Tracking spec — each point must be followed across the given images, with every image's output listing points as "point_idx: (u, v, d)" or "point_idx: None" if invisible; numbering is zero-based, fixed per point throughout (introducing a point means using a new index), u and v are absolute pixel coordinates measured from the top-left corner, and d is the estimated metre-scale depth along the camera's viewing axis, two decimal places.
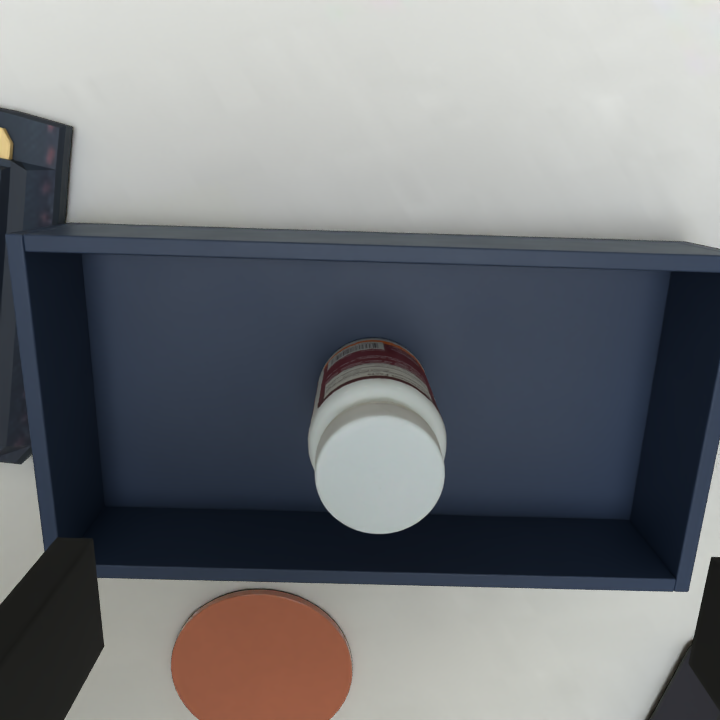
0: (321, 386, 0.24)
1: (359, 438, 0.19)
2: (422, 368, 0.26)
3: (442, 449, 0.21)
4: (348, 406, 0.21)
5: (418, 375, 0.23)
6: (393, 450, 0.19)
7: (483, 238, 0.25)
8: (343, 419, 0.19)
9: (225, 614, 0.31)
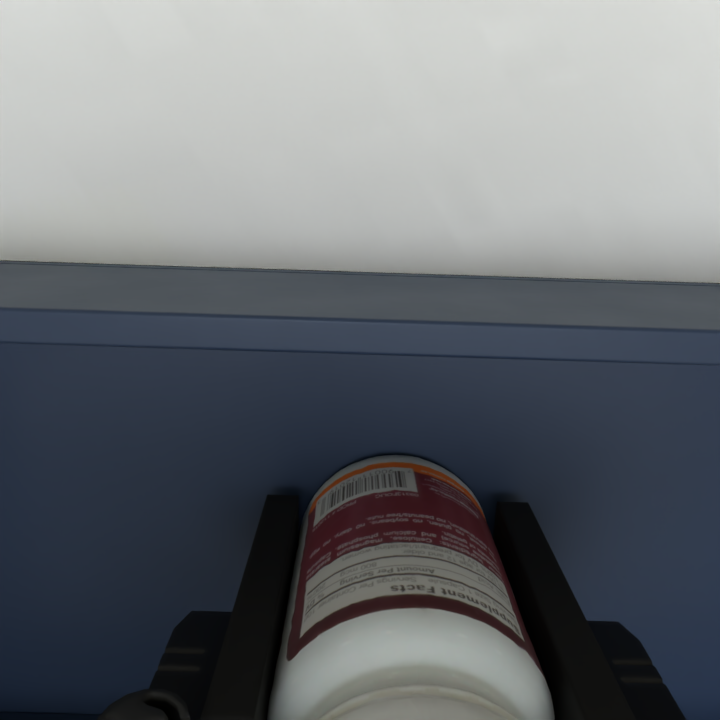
0: (300, 571, 0.13)
1: None
2: (480, 509, 0.15)
3: None
4: (350, 679, 0.09)
5: (485, 556, 0.12)
6: None
7: (601, 289, 0.13)
8: None
9: None
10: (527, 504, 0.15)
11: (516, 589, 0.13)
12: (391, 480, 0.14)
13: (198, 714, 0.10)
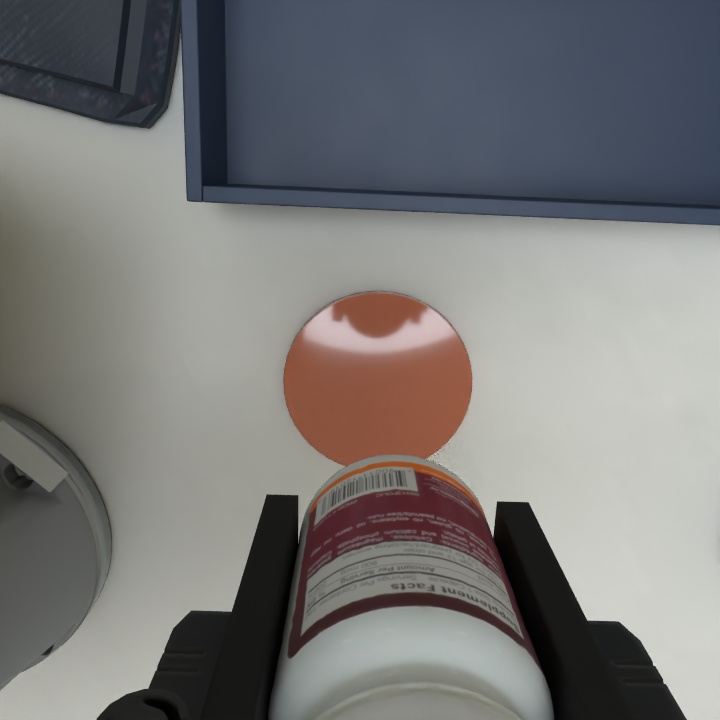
0: (301, 570, 0.13)
1: None
2: (481, 508, 0.15)
3: None
4: (351, 677, 0.09)
5: (485, 555, 0.12)
6: None
7: None
8: None
9: (344, 316, 0.29)
10: (527, 504, 0.15)
11: (516, 589, 0.13)
12: (392, 479, 0.14)
13: (198, 714, 0.10)
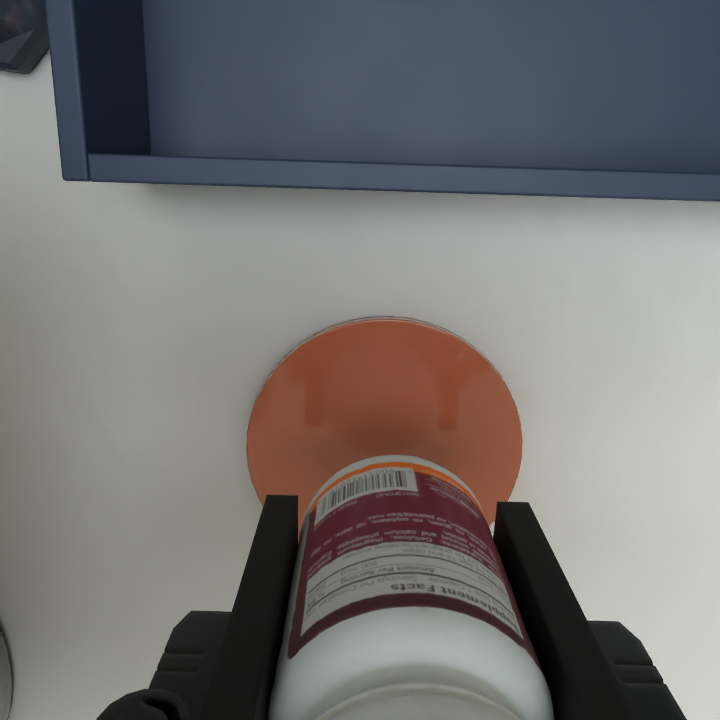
0: (301, 570, 0.13)
1: None
2: (481, 508, 0.15)
3: None
4: (351, 677, 0.09)
5: (485, 555, 0.12)
6: None
7: None
8: None
9: (334, 354, 0.20)
10: (527, 504, 0.15)
11: (516, 589, 0.13)
12: (392, 480, 0.14)
13: (198, 714, 0.10)
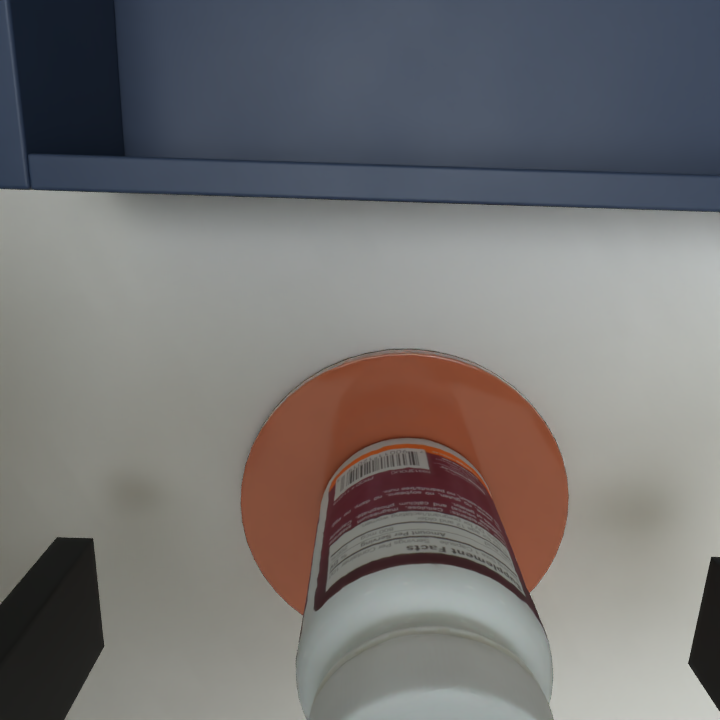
0: (323, 539, 0.14)
1: None
2: (487, 488, 0.16)
3: (547, 695, 0.11)
4: (371, 624, 0.11)
5: (491, 525, 0.14)
6: None
7: None
8: (364, 681, 0.09)
9: (345, 394, 0.17)
10: None
11: None
12: (405, 459, 0.15)
13: None
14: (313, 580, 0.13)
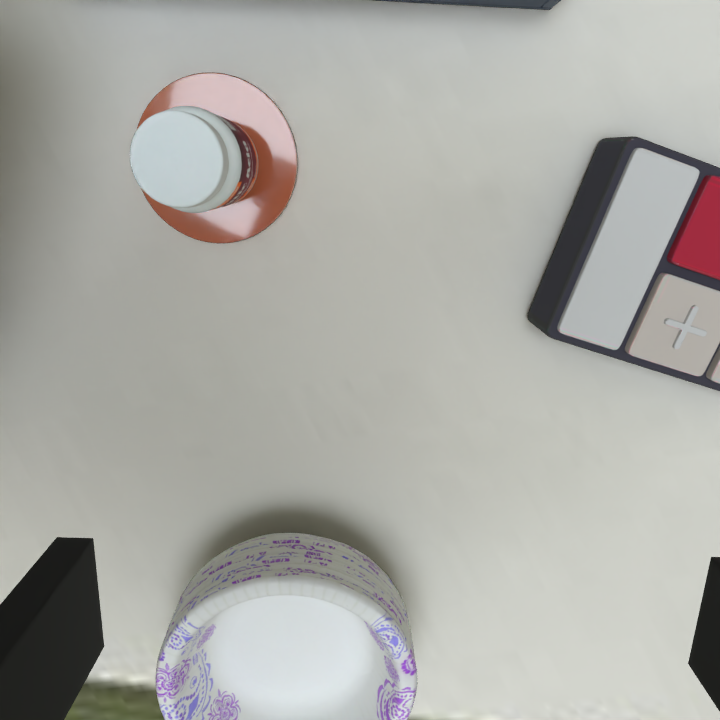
0: None
1: (159, 128, 0.27)
2: (251, 140, 0.34)
3: (235, 161, 0.29)
4: None
5: (232, 125, 0.31)
6: (184, 138, 0.27)
7: None
8: (150, 118, 0.27)
9: (182, 95, 0.34)
10: None
11: None
12: None
13: None
14: None
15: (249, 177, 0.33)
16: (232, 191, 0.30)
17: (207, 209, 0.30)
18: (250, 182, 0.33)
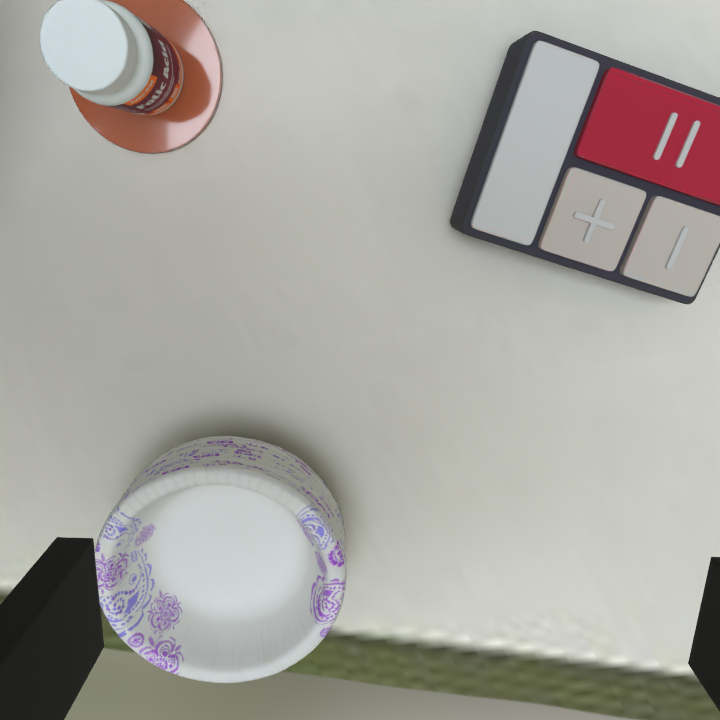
0: None
1: (65, 12, 0.28)
2: (174, 49, 0.36)
3: (145, 51, 0.31)
4: None
5: (149, 26, 0.33)
6: (90, 22, 0.28)
7: None
8: (59, 5, 0.29)
9: None
10: None
11: None
12: None
13: None
14: None
15: (169, 79, 0.34)
16: (145, 83, 0.31)
17: (122, 101, 0.31)
18: (172, 86, 0.35)
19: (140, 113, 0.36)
